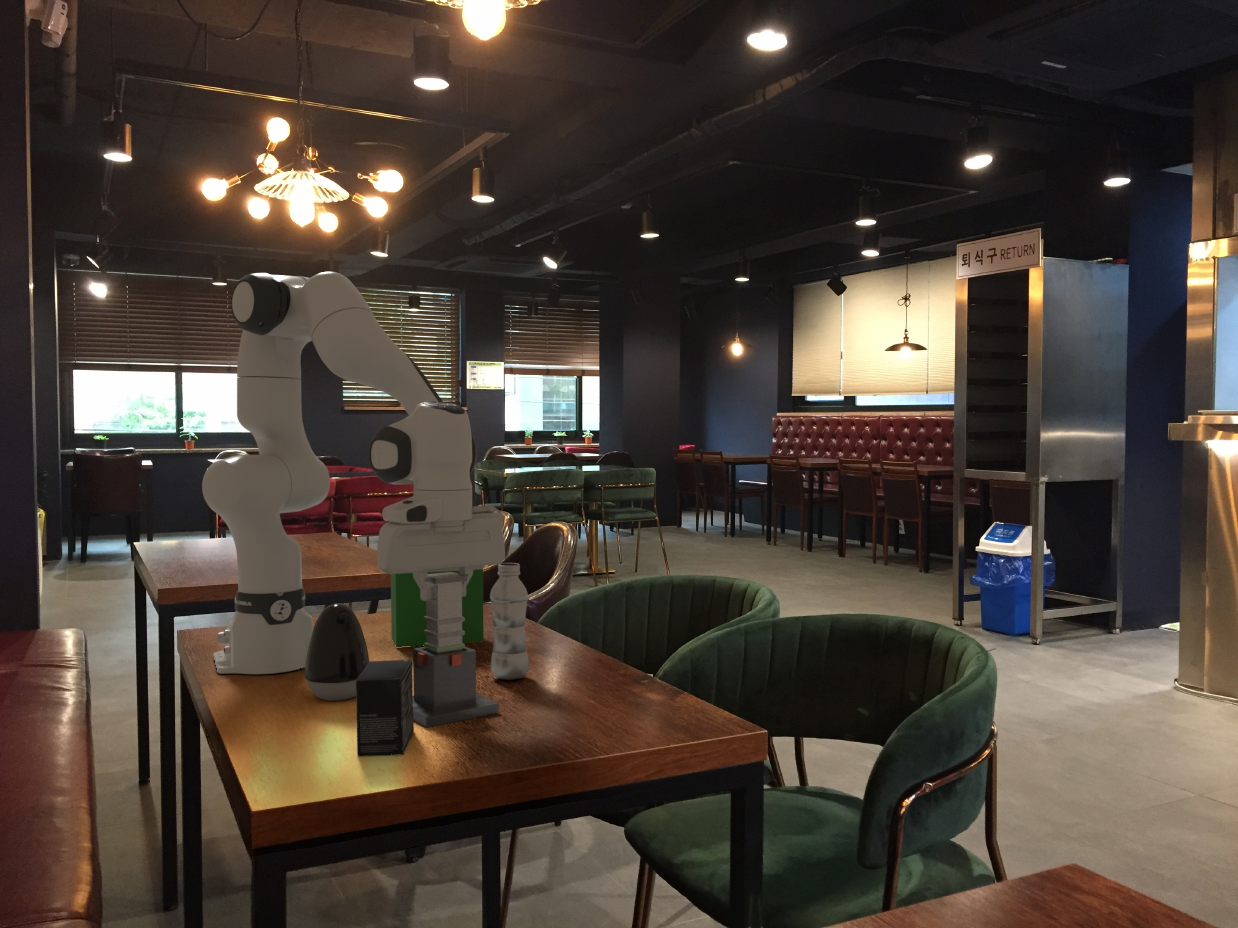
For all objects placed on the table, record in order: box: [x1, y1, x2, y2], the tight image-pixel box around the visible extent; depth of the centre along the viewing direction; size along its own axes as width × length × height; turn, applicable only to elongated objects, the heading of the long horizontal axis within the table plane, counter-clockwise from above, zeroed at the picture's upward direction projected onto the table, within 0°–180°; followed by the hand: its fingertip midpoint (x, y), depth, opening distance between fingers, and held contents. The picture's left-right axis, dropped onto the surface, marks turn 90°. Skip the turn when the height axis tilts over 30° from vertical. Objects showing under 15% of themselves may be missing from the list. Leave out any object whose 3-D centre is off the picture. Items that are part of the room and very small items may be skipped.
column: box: [424, 572, 467, 655], centre depth 147 cm, size 5×5×15 cm
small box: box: [355, 659, 415, 757], centre depth 132 cm, size 11×6×10 cm, turn 5°
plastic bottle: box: [489, 562, 530, 681], centre depth 167 cm, size 6×7×20 cm
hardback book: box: [390, 566, 484, 648], centre depth 198 cm, size 18×7×24 cm, turn 111°
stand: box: [412, 646, 500, 728], centre depth 147 cm, size 12×12×10 cm
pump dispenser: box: [304, 603, 371, 702], centre depth 156 cm, size 10×10×15 cm
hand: (443, 598), depth 147 cm, fingers closed on column, 4 cm apart
